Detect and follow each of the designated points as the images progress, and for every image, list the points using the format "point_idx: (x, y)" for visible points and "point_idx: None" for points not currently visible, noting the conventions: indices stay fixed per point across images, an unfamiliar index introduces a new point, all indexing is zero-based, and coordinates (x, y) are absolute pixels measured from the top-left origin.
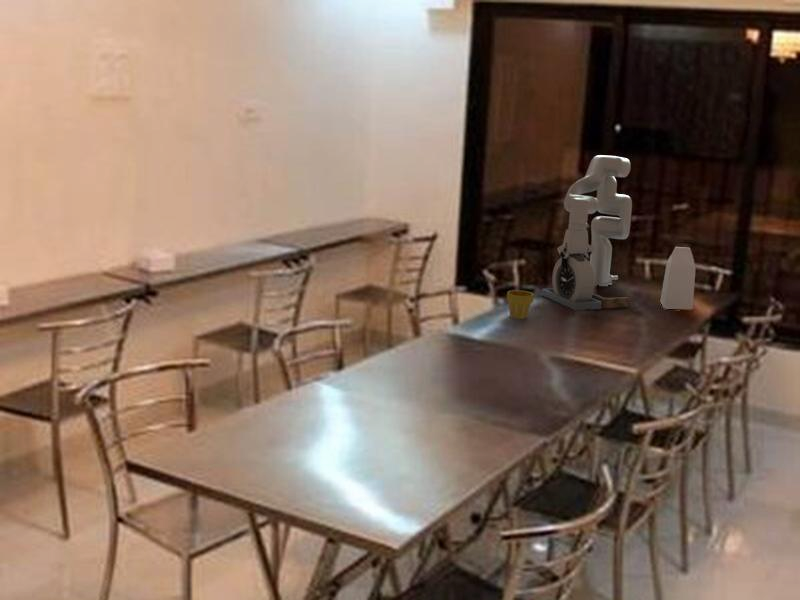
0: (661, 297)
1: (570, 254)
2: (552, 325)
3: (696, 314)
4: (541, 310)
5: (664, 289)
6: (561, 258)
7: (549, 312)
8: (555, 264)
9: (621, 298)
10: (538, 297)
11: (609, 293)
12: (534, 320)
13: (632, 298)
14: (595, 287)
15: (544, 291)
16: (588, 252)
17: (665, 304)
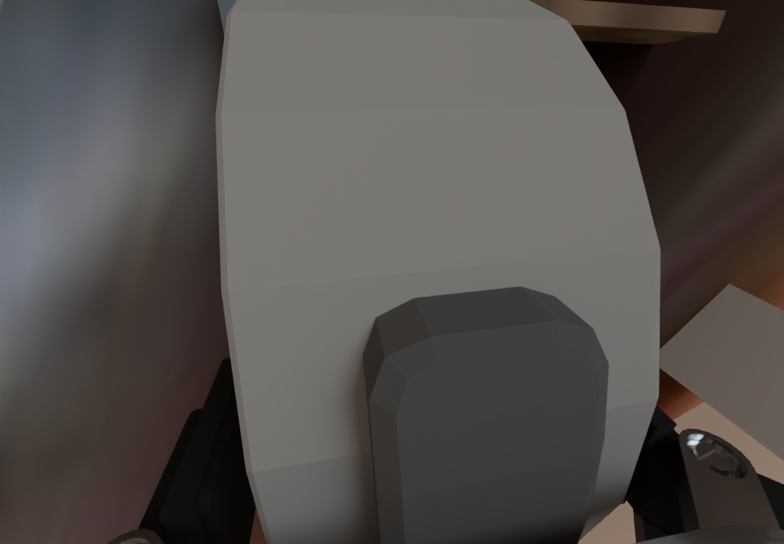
0: (749, 309)
1: None
2: (108, 527)
3: (671, 410)
4: (109, 363)
5: (766, 372)
6: (232, 318)
7: (147, 392)
8: (227, 28)
9: None
10: (177, 39)
11: (746, 38)
12: (35, 489)
13: (725, 189)
14: (692, 35)
15: (223, 17)
16: None
17: (668, 373)
